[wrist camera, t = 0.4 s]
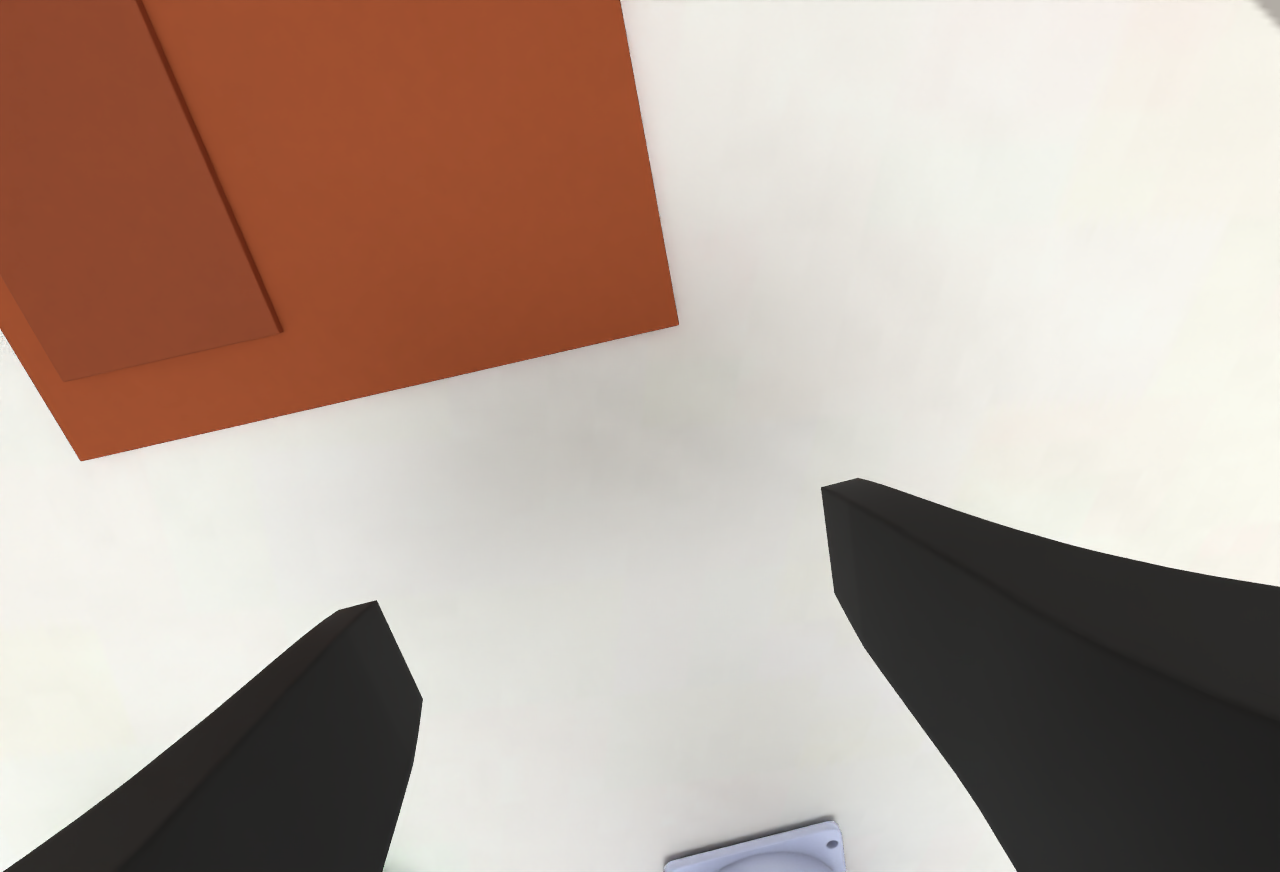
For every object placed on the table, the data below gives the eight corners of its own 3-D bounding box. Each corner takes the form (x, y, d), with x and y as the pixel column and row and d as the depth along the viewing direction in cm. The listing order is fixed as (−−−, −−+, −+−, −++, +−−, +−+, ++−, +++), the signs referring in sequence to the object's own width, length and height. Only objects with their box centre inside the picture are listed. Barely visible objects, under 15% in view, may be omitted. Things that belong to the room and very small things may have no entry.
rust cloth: (677, 323, 18) (680, 326, 17) (87, 457, 17) (71, 465, 17) (584, -184, 14) (585, -201, 13) (-200, -24, 13) (-235, -35, 13)
